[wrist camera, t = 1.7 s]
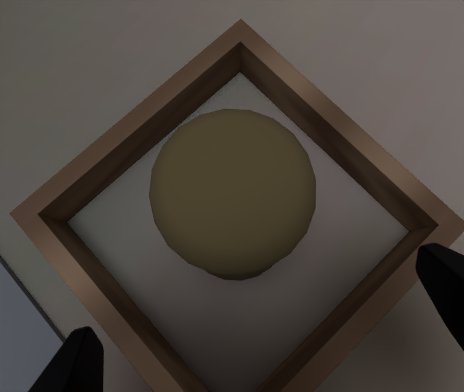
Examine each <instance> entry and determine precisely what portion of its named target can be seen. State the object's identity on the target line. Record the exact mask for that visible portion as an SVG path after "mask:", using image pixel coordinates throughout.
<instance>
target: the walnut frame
mask: <svg viewBox="0 0 464 392" xmlns="http://www.w3.org/2000/svg"><path fill="white" fill-rule="evenodd" d="M239 72H241V73H242V74H243V75H245V76H246V77H247V78H248V79H249V80H250V81H251V82H252V83H253V84H254V85H255V86H256V87H257V88H258V89H259V90H260V91H261V92H263V93H264V94H265V95H266V96H267V97H268V98H269V99H270V100H271V101H272V102H273V103H274V104H275V105H276V106H277V107H278V108H279V109H281V110H282V111H283V112H284V113H285V114H286V115H287V116H288V117H289V118H290V119H291V120H292V121H293V122H294V123H295V124H296V125H297V126H299V127H300V128H301V129H302V130H303V131H304V132H305V133H306V134H307V135H308V136H309V137H310V138H311V139H312V140H313V141H314V142H315V143H317V144H318V145H319V146H320V147H321V148H322V149H323V150H324V151H325V152H326V153H327V154H328V155H329V156H330V157H331V158H332V159H334V160H335V161H336V162H337V163H338V164H339V165H340V166H341V167H342V168H343V169H344V170H345V171H346V172H347V173H348V174H349V175H350V176H352V177H353V178H354V179H355V180H356V181H357V182H358V183H359V184H360V185H361V186H362V187H363V188H364V189H365V190H366V191H367V192H368V193H370V194H371V195H372V196H373V197H374V198H375V199H376V200H377V201H378V202H379V203H380V204H381V205H382V206H383V207H384V208H385V209H386V210H388V211H389V212H390V213H391V214H392V215H393V216H394V217H395V218H396V219H397V220H398V221H399V222H400V223H401V224H402V225H403V226H404V227H406V228H407V229H408V230H409V231H410V232H409V233H408V234H407V235H406V236H405V237H404V238H403V239H402V240H401V241H400V242H399V243H398V244H397V245H396V246H395V247H394V249H393V250H392V251H391V252H390V253H389V254H388V255H387V256H386V257H385V258H384V259H383V260H382V261H381V262H380V263H379V264H378V265H377V266H376V267H375V268H374V269H373V270H372V271H371V272H370V273H369V274H368V275H367V276H366V277H365V279H364V280H363V281H362V282H361V283H360V284H359V285H358V286H357V287H356V288H355V289H354V290H353V291H352V292H351V293H350V294H349V295H348V296H347V297H346V298H345V299H344V300H343V301H342V302H341V303H340V304H339V305H338V306H337V308H336V309H335V310H334V311H333V312H332V313H331V314H330V315H329V316H328V317H327V318H326V319H325V320H324V321H323V322H322V323H321V324H320V325H319V326H318V327H317V328H316V329H315V330H314V331H313V332H312V333H311V334H310V335H309V336H308V338H307V339H306V340H305V341H304V342H303V343H302V344H301V345H300V346H299V347H298V348H297V349H296V350H295V351H294V352H293V353H292V354H291V355H290V356H289V357H288V358H287V359H286V360H285V361H284V362H283V363H282V364H281V365H280V367H279V368H278V369H277V370H276V371H275V372H274V373H273V374H272V375H271V376H270V377H269V378H268V379H267V380H266V381H265V382H264V383H263V384H262V385H261V386H260V387H259V388H258V389H257V390H256V391H255V392H313V391H314V390H315V389H316V388H317V387H318V386H319V385H320V384H321V383H322V382H323V381H324V380H325V379H326V378H327V376H328V375H329V374H330V373H331V372H332V371H333V370H334V369H335V368H336V367H337V366H338V365H339V364H340V363H341V362H342V360H343V359H344V358H345V357H346V356H347V355H348V354H349V353H350V352H351V351H352V350H353V349H354V348H355V347H356V346H357V344H358V343H359V342H360V341H361V340H362V339H363V338H364V337H365V336H366V335H367V334H368V333H369V332H370V331H371V330H372V328H373V327H374V326H375V325H376V324H377V323H378V322H379V321H380V320H381V319H382V318H383V317H384V316H385V315H386V314H387V312H388V311H389V310H390V309H391V308H392V307H393V306H394V305H395V304H396V303H397V302H398V301H399V300H400V299H401V298H402V297H403V295H404V294H405V293H406V292H407V291H408V290H409V289H410V288H411V287H412V286H413V285H414V284H415V283H416V282H417V281H418V279H419V277H418V275H417V273H416V269H415V265H416V259H417V253H418V248H419V247H420V246H421V245H424V244H428V243H433V242H435V243H438V244H441V245H443V246H445V247H447V248H448V247H449V246H450V245H451V244H452V243H453V242H454V241H455V240H456V239H457V238H458V237H459V236H460V235H461V234H462V233H463V231H464V221H463V220H462V219H461V218H460V217H459V216H458V215H457V214H455V213H454V212H453V211H452V210H451V209H450V208H449V207H448V206H447V205H446V204H444V203H443V202H442V201H441V200H440V199H439V198H438V197H437V196H436V195H435V194H433V193H432V192H431V191H430V190H429V189H428V188H427V187H426V186H425V185H424V184H422V183H421V182H420V181H419V180H418V179H417V178H416V177H415V176H414V175H413V174H411V173H410V172H409V171H408V170H407V169H406V168H405V167H404V166H403V165H401V164H400V163H399V162H398V161H397V160H396V159H395V158H394V157H393V156H392V155H390V154H389V153H388V152H387V151H386V150H385V149H384V148H383V147H382V146H381V145H379V144H378V143H377V142H376V141H375V140H374V139H373V138H372V137H371V136H370V135H368V134H367V133H366V132H365V131H364V130H363V129H362V128H361V127H360V126H359V125H357V124H356V123H355V122H354V121H353V120H352V119H351V118H350V117H349V116H348V115H346V114H345V113H344V112H343V111H342V110H341V109H340V108H339V107H338V106H336V105H335V104H334V103H333V102H332V101H331V100H330V99H329V98H328V97H327V96H325V95H324V94H323V93H322V92H321V91H320V90H319V89H318V88H317V87H316V86H314V85H313V84H312V83H311V82H310V81H309V80H308V79H307V78H306V77H305V76H303V75H302V74H301V73H300V72H299V71H298V70H297V69H296V68H295V67H294V66H292V65H291V64H290V63H289V62H288V61H287V60H286V59H285V58H284V57H283V56H281V55H280V54H279V53H278V52H277V51H276V50H275V49H274V48H273V47H271V46H270V45H269V44H268V43H267V42H266V41H265V40H264V39H263V38H262V37H260V36H259V35H258V34H257V33H256V32H255V31H254V30H253V29H252V28H251V27H249V26H248V25H247V24H246V23H245V22H244V21H243V20H242V19H240V20H239V21H238V22H236V23H235V24H234V25H233V26H232V27H230V28H229V29H228V30H227V31H226V32H224V33H223V34H222V35H221V36H220V37H219V38H217V39H216V40H215V41H214V42H213V43H211V44H210V45H209V46H208V47H207V48H205V49H204V50H203V51H202V52H201V53H199V54H198V55H197V56H196V57H195V58H194V59H192V60H191V61H190V62H189V63H188V64H186V65H185V66H184V67H183V68H182V69H180V70H179V71H178V72H177V73H176V74H175V75H173V76H172V77H171V78H170V79H169V80H167V81H166V82H165V83H164V84H163V85H161V86H160V87H159V88H158V89H157V90H156V91H154V92H153V93H152V94H151V95H150V96H148V97H147V98H146V99H145V100H144V101H142V102H141V103H140V104H139V105H138V106H136V107H135V108H134V109H133V110H132V111H131V112H129V113H128V114H127V115H126V116H125V117H123V118H122V119H121V120H120V121H119V122H117V123H116V124H115V125H114V126H113V127H112V128H110V129H109V130H108V131H107V132H106V133H104V134H103V135H102V136H101V137H100V138H98V139H97V140H96V141H95V142H94V143H92V144H91V145H90V146H89V147H88V148H87V149H85V150H84V151H83V152H82V153H81V154H79V155H78V156H77V157H76V158H75V159H73V160H72V161H71V162H70V163H69V164H68V165H66V166H65V167H64V168H63V169H62V170H60V171H59V172H58V173H57V174H56V175H54V176H53V177H52V178H51V179H50V180H49V181H47V182H46V183H45V184H44V185H43V186H41V187H40V188H39V189H38V190H37V191H35V192H34V193H33V194H32V195H31V196H29V197H28V198H27V199H26V200H25V201H24V202H22V203H21V204H20V205H19V206H18V207H16V208H15V209H14V210H13V211H12V212H10V215H11V216H12V217H13V218H14V220H15V221H16V222H17V223H18V225H19V226H20V227H21V228H22V229H23V231H24V232H25V233H26V234H27V236H28V237H29V238H30V239H31V241H32V242H33V243H34V244H35V246H36V247H37V248H38V249H39V250H40V252H41V253H42V254H43V255H44V257H45V258H46V259H47V260H48V262H49V263H50V264H51V265H52V267H53V268H54V269H55V270H56V271H57V273H58V274H59V275H60V276H61V278H62V279H63V280H64V281H65V283H66V284H67V285H68V286H69V288H70V289H71V290H72V291H73V292H74V294H75V295H76V296H77V297H78V299H79V300H80V301H81V302H82V304H83V305H84V306H85V307H86V309H87V310H88V311H89V312H90V313H91V315H92V316H93V317H94V318H95V320H96V321H97V322H98V323H99V325H100V326H101V327H102V328H103V330H104V331H105V332H106V333H107V334H108V336H109V337H110V338H111V339H112V341H113V342H114V343H115V344H116V346H117V347H118V348H119V349H120V351H121V352H122V353H123V354H124V355H125V357H126V358H127V359H128V360H129V362H130V363H131V364H132V365H133V367H134V368H135V369H136V370H137V372H138V373H139V374H140V375H141V376H142V378H143V379H144V380H145V381H146V383H147V384H148V385H149V386H150V388H151V389H152V390H153V391H154V392H209V391H208V390H207V389H206V388H205V386H204V385H203V384H202V383H201V382H200V380H199V379H198V378H197V377H196V376H195V375H194V373H193V372H192V371H191V370H190V369H189V367H188V366H187V365H186V364H185V363H184V361H183V360H182V359H181V358H180V357H179V356H178V354H177V353H176V352H175V351H174V350H173V348H172V347H171V346H170V345H169V344H168V342H167V341H166V340H165V339H164V338H163V337H162V335H161V334H160V333H159V332H158V331H157V329H156V328H155V327H154V326H153V325H152V323H151V322H150V321H149V320H148V319H147V318H146V316H145V315H144V314H143V313H142V312H141V310H140V309H139V308H138V307H137V306H136V304H135V303H134V302H133V301H132V300H131V299H130V297H129V296H128V295H127V294H126V293H125V291H124V290H123V289H122V288H121V287H120V285H119V284H118V283H117V282H116V281H115V279H114V278H113V277H112V276H111V275H110V274H109V272H108V271H107V270H106V269H105V268H104V266H103V265H102V264H101V263H100V262H99V260H98V259H97V258H96V257H95V256H94V255H93V253H92V252H91V251H90V250H89V249H88V247H87V246H86V245H85V244H84V243H83V241H82V240H81V239H80V238H79V237H78V236H77V234H76V233H75V232H74V231H73V230H72V228H71V227H70V226H69V225H68V224H67V221H68V220H69V219H70V218H72V217H73V216H74V215H75V214H76V213H77V212H79V211H80V210H81V209H82V208H83V207H84V206H85V205H87V204H88V203H89V202H90V201H91V200H92V199H94V198H95V197H96V196H97V195H98V194H99V193H100V192H102V191H103V190H104V189H105V188H106V187H107V186H109V185H110V184H111V183H112V182H113V181H114V180H115V179H117V178H118V177H119V176H120V175H121V174H122V173H123V172H125V171H126V170H127V169H128V168H129V167H130V166H132V165H133V164H134V163H135V162H136V161H137V160H138V159H140V158H141V157H142V156H143V155H144V154H145V153H147V152H148V151H149V150H150V149H151V148H152V147H153V146H155V145H156V144H157V143H158V142H159V141H160V140H162V139H163V138H164V137H165V136H166V135H167V134H168V133H170V132H171V131H172V130H173V129H174V128H175V127H177V126H178V125H179V124H180V123H181V122H182V121H183V120H185V119H186V118H187V117H188V116H189V115H190V114H192V113H193V112H194V111H195V110H196V109H197V108H198V107H200V106H201V105H202V104H203V103H204V102H205V101H207V100H208V99H209V98H210V97H211V96H212V95H213V94H215V93H216V92H217V91H218V90H219V89H220V88H222V87H223V86H224V85H225V84H226V83H227V82H228V81H230V80H231V79H232V78H233V77H234V76H235V75H237V74H238V73H239Z"/></svg>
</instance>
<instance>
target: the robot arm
mask: <svg viewBox="0 0 464 392" xmlns="http://www.w3.org/2000/svg"><path fill="white" fill-rule="evenodd" d="M415 269H416V273H417V275H418V277H419V279H420V281H421V283H422V284H423V286H424V288H425V290H426V291H427V293H428V295H429V297H430V299H431V300H432V302H433V304H434V306H435V308H436V309H437V311H438V313H439V315H440V316H441V318H442V320H443V321H444V323H445V325H446V326H447V328H448V329H449V331H450V332H451V334H452V335H453V337H454V338H455V339H456V341H457V342H458V344H459V345H460V347H461V348H462V349H463V351H464V255H462V254H460V253H458V252H456V251H453V250H451V249H449V248H447V247H445V246H443V245H441V244H438V243H435V242H433V243H428V244H424V245H421V246H420V247H419V248H418V253H417V259H416V265H415ZM103 365H104V350H103V345H102V343H101V341H100V340H99V338H98V337H97V335H96V334H95V332H94V331H93V329H92V328H91V327H89V326H86V327H82V328H78V329H75V330H73V331H72V332H71V333H70V335H69V336H68V337H67V339H66V340H65V342H64V343H63V344H62V346H61V347H60V348H59V350H58V351H57V352H56V354H55V355H54V357H53V358H52V359H51V361H50V362H49V363H48V365H47V366H46V367H45V369H44V370H43V372H42V373H41V374H40V376H39V377H38V378H37V380H36V381H35V382H34V384H33V385H32V386H31V388H30V389H29V391H28V392H103Z"/></svg>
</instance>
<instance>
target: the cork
mask: <svg viewBox="0 0 464 392" xmlns="http://www.w3.org/2000/svg"><path fill="white" fill-rule="evenodd" d="M149 198H150V203H151V207H152V212H153V217H154V222H155V224H156V226H157V228H158V229H159V231H160V233H161V234H162V236H163V238H164V240H165V241H166V243H167V245H168V246H169V247H170V248H171V249H173V250H174V251H175V252H176V253H177V254H178V255H180V256H181V257H182V258H183V259H184V260H185V261H186V262H188V263H189V264H192V265H194V266H197V267H199V268H202V269H204V270H206V271H207V272H208V273H210V274H212V275H215V276H217V277H219V278H222V279H226V280H245V279H249V278H252V277H256V276H258V275H260V274H261V273H263V272H265V271H266V270H268V269H269V268H271V267H272V266H273V264H275V263H276V262H278V261H279V260H281V259H282V258H284V257H285V256H287V255H288V254H290V253H291V252H292V250H293V249H294V248H295V247H296V245H297V244H298V243H299V241H300V240H301V239H302V238H303V236H304V235H305V234H306V233H307V230H308V227H309V224H310V222H311V219H312V216H313V213H314V210H315V202H316V179H315V175H314V172H313V169H312V166H311V163H310V159H309V156H308V154H307V152H306V151H305V149H304V148H303V147H302V145H301V144H300V142H299V141H298V140H297V138H296V137H295V135H294V134H293V133H292V132H291V131H289V130H288V129H286V128H285V127H284V126H282V125H281V124H280V123H278V122H277V121H276V120H274V119H273V118H270V117H267V116H265V115H262V114H259V113H256V112H254V111H251V110H237V109H223V110H218V111H214V112H210V113H206V114H202V115H200V116H198V117H196V118H195V119H193V120H191V121H190V122H188V123H186V124H184V125H183V126H181V127H179V128H178V130H177V131H176V132H175V133H174V134H173V135H172V136H171V137H170V138H169V139H168V141H167V142H166V143H165V144H164V145H163V146H162V148H161V151H160V153H159V155H158V157H157V159H156V161H155V164H154V166H153V168H152V175H151V183H150V192H149Z"/></svg>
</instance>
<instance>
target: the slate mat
mask: <svg viewBox="0 0 464 392" xmlns="http://www.w3.org/2000/svg"><path fill="white" fill-rule="evenodd" d="M64 342H65V339H64V338H63V336H62V335H61V334H60V332H59V331H58V330H57V329H56V327H55V326H54V325H53V323H52V322H51V321H50V320H49V318H48V317H47V316H46V315H45V313H44V312H43V311H42V309H41V308H40V307H39V306H38V304H37V303H36V302H35V300H34V299H33V298H32V297H31V295H30V294H29V293H28V291H27V290H26V289H25V288H24V286H23V285H22V284H21V283H20V281H19V280H18V279H17V277H16V276H15V275H14V274H13V272H12V271H11V270H10V268H9V267H8V266H7V265H6V263H5V262H4V261H3V259H2V258H1V257H0V392H28V391H29V389H30V388H31V386H32V385H33V384H34V382H35V381H36V380H37V378H38V377H39V376H40V374H41V373H42V372H43V370H44V369H45V367H46V366H47V365H48V363H49V362H50V361H51V359H52V358H53V357H54V355H55V354H56V352H57V351H58V350H59V348H60V347H61V346H62V344H63V343H64Z"/></svg>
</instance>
